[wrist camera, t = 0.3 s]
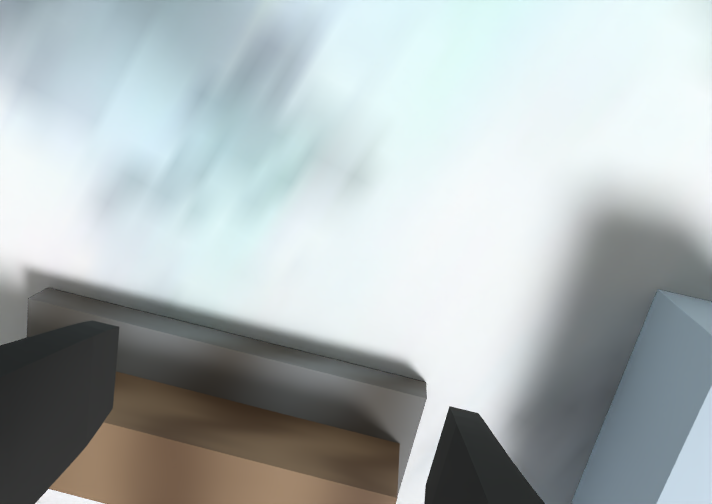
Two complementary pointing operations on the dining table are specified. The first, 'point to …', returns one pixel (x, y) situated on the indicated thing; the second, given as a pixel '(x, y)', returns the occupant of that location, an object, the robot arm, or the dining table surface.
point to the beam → (659, 414)
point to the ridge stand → (234, 417)
